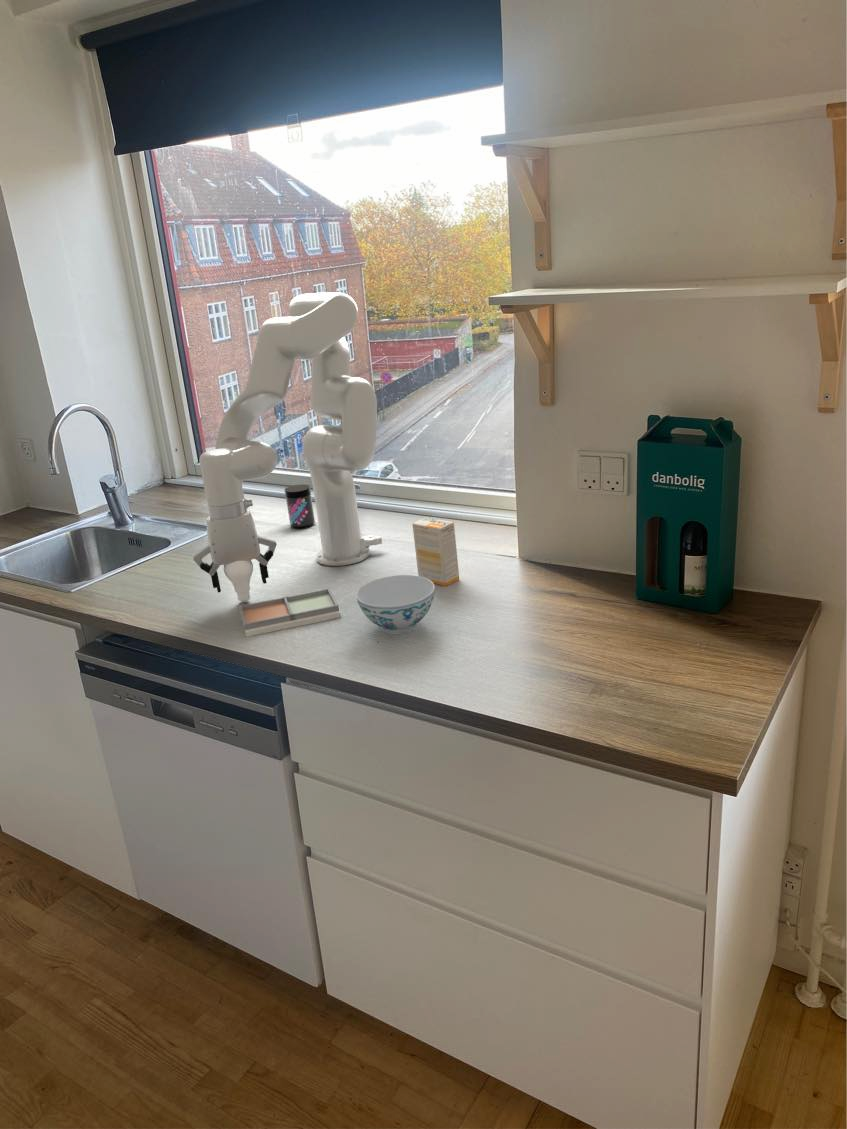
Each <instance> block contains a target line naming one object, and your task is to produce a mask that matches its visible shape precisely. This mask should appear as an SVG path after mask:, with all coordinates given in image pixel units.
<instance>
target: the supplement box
mask: <svg viewBox="0 0 847 1129" xmlns="http://www.w3.org/2000/svg"><path fill="white" fill-rule="evenodd" d="M412 531H413V532H412V533H413V539H414V541H413V542H414V549H415V550H414V551H415V555H416V556H415V558H416V565H417V568H416V569H417V574H418V575H417V576H420V577H424V578H427V579H429V580H430V581H432V582H433V584H437V585H440V586H444V587H447V586H449V585H451V584H453V583H456V582H457V581H459V580H460V571H459V562H458V560H459V559H458V550H457V540H456V539H457V538H456V530H455V522H454V521H449V520H443V519H438V518H433V517H432V518H431V517H424V518H422V519H419V520H417V521H415V522H412Z"/></svg>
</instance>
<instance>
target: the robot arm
mask: <svg viewBox="0 0 847 1129" xmlns="http://www.w3.org/2000/svg"><path fill="white" fill-rule="evenodd" d="M358 318H359V310H358V306H357V303H356V302H355V300H354V299H353V298H352V297H351V296H350V295H348V294H346V293H343V292H316V293H315V292H314V293H303V294H300V295H297V296H295V297H294V298H293V299H292V300H291V301H290V303H289V306H288V316H282V317H281V316H279V317H278V316H277V317H273V318H269V319H267V320H265V321H264V322H263V323H262V325H261V326H260V328H259V331H258V336H257V338H256V343H255V348H254V351H253V356H252V360H251V363H250V367H249V372H248V376H247V381H246V383H245V387H244V388H243V390H242V391H241V392H240V394H238V395H237V397H236V398H235V400H233V403H232V404H231V405H230V406H229V408H228V409H227V411H226V413H225V414H224V416H223V418H222V420H221V423H220V426H219V428H218V429H219V430H218V433H217V438H216V442H215V448H214V449H210V450H207V451H205V452H202V453H201V455H200V456H199V460H198V461H199V467H200V473H201V479H202V483H203V488H204V493H205V497H206V503H207V507H208V513H209V514H208V516H207V517H206V535H207V542H208V544H207V545H206V546H205V547H203V548H202V549H200V550H199V551H198V552H197V553H195V554H194V555H193V556H192V558H193V561H194V562H195V564H196V565H197V566H198V567H199V568H200V569H201V570H202V571H204V572H206V573H207V574H208V575H209V576H210V578H211V584H212V588H213V589H216V590H217V594H218V593H221V592H222V590H221V585H220V579H219V573H218V569H219V568H220V566H224V565H226V564H230V563H233V562H235V561H248V560H251V561H252V560H256V561H257V562H258V567H259V572H260V577H261V581H262V584H265V585H266V584H267V579H268V578H269V577H270V576H269V571H268V564H269V562H270V561H271V559H272V558H273V556H274V554H275V550H276V548H277V542H276V541H275V540H273V539H269V538H266V537H263V536H259V535H258V533H257V528H256V525H255V522H254V518H253V515H252V513H251V510H249V508H250V507H253V504H254V503H253V500H252V499H246V498H245V494H244V490H243V488H244V487H243V484H242V482H243V481H248V480H255V479H256V480H257V479H262V478H265V477H267V476H268V475H270V474H271V473H272V472H273V471H274V470H275V468H276V466H277V463H278V456H277V453H276V451H275V449H274V448H273V446H271V445H269V444H267V443H265V442H262V441H258V440H251V439H248V438H249V436H250V435H249V434H250V432H251V429H253V428H252V427H253V426H254V425H255V423H256V422H257V420H258V419H259V417H261V416H262V415H263V414H265V413H266V412H268V411H269V410H271V409H273V408H274V407H276V406H277V405H279V404H281V403H282V402H283V401H285V399H286V397H287V393H288V389H289V386H290V380H291V376H292V373H293V369H294V365H295V361H296V360H310V359H311V381H310V382H311V385H310V386H311V388H310V404H311V409H312V411H313V412H314V414H315V415H316V416H318V417H320V418H323V419H326V420H327V419H328V420H329V419H330V420H334V421H335V420H336V421H337V420H338V421H341V425H330V424H320V425H316V426H313V427H311V428H310V429H309V430H308V431H307V432H306V433H305V435H304V437H303V441H302V453H303V457H304V459H305V463H306V464H307V465H306V466H307V468H308V472H309V474H310V478H311V482H312V483H311V484H312V489H313V490H312V491H313V495H314V496H313V497H314V502H315V509H316V515H317V523H318V530H319V538H320V543H321V550H320V551H318V553H317V554H316V560H317V562H318V563H319V564H322V565H324V566H329V567H337V566H338V567H339V566H340V567H342V566H347V565H352V564H356V563H359V562H362V561H364V560H365V559H367V558H368V557H369V556H370V554H371V552H370V547H371V546H378V545H382V544H383V540H382V537H381V535H379V536H374V535H373V534H371V535H367V536H364V535H362V533H361V526H360V517H359V512H358V502H357V496H356V486H355V485H356V484H355V481H354V478H353V475H352V473H351V472H361V471H363V470H365V469H367V468H368V467H369V466H370V465H371V463H372V461H373V460H374V455H375V449H376V438H377V435H376V434H377V418H378V400H377V394H376V392H375V389H374V387H373V386H372V384H371V383H370V382H369V381H368V380H366V379H364V378H363V377H358V376H351V352H350V349H349V348H350V347H349V345H348V342H347V340H346V339H345V337H346V336H347V335H349V333H351V331H352V330H353V329H354V328H355V327H356V324H357V323H358V322H357V321H358ZM260 545H263V546H267V547H268V549H267V550H266V551H265V553H264V554H262V552H261V547H260ZM209 554H210V556H211V562H210V564H208V563H207V562H205V561H204V560H203V559H204V558H205V557H206V556H208V555H209Z"/></svg>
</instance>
